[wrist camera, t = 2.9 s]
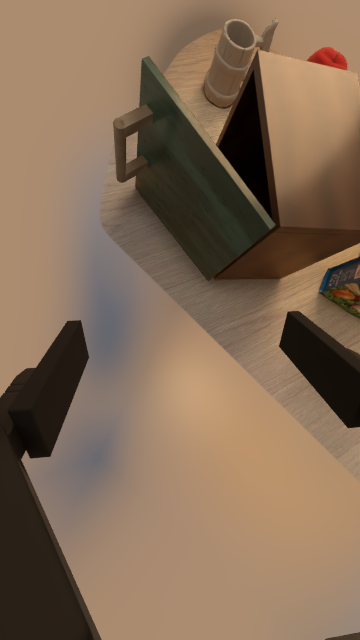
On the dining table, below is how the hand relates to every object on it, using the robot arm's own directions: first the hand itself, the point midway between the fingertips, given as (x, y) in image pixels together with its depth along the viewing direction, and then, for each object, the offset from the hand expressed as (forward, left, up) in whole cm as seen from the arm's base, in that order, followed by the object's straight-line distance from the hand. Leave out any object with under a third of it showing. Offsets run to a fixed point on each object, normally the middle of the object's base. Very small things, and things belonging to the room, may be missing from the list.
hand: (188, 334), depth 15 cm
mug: (+21, +54, -27) cm, 64 cm away
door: (+4, +19, -27) cm, 33 cm away
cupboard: (+21, +23, -27) cm, 41 cm away
